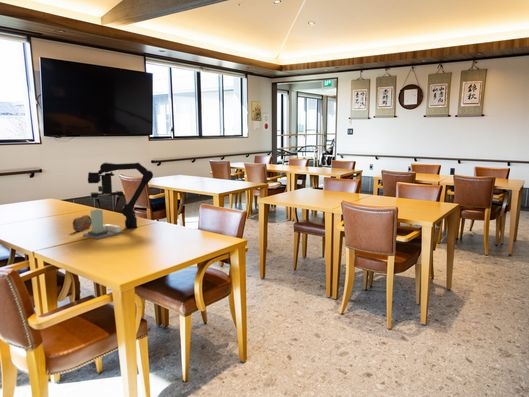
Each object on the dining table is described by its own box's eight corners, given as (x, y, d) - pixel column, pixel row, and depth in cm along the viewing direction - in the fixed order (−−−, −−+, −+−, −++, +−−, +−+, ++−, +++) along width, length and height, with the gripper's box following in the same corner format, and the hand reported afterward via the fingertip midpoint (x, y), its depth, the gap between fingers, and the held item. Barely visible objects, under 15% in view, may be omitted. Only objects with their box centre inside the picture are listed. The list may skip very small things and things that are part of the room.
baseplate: (108, 229, 247) (108, 223, 246) (124, 232, 240) (123, 226, 239) (82, 235, 232) (82, 229, 231) (98, 239, 225) (97, 232, 224)
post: (98, 232, 235) (97, 209, 233) (103, 233, 233) (102, 210, 231) (92, 234, 231) (90, 210, 229) (96, 235, 229) (95, 211, 227)
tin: (76, 232, 239) (75, 219, 237) (72, 232, 239) (71, 218, 238) (92, 227, 253) (91, 214, 252) (87, 226, 254) (87, 213, 252)
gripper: (120, 180, 256) (121, 204, 259) (89, 182, 248) (90, 207, 250) (123, 183, 247) (124, 207, 249) (90, 184, 238) (92, 210, 240)
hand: (107, 208), depth 247 cm, fingers open, 9 cm apart
